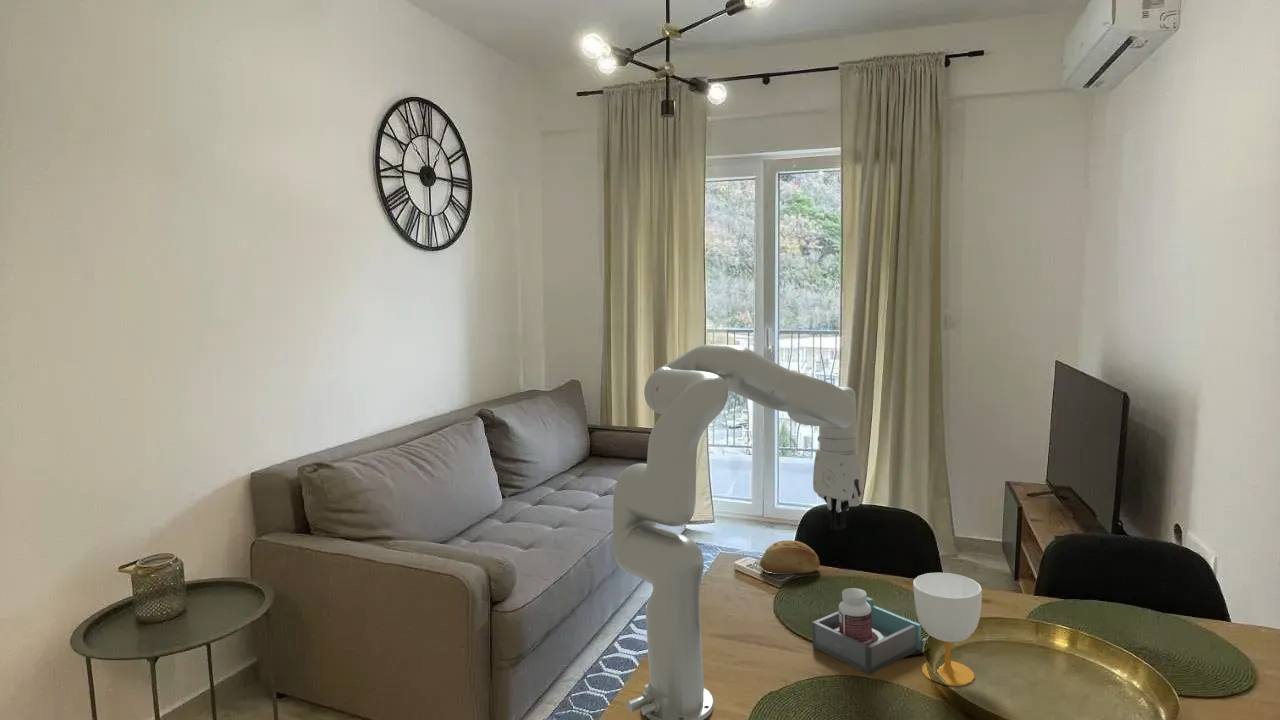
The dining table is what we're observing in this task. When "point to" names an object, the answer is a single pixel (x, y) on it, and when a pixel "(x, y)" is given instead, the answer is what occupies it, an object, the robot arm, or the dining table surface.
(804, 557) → the bread roll
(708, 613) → the dining table surface
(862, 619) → the pill bottle
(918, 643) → the gate
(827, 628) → the housing
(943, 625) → the cup
